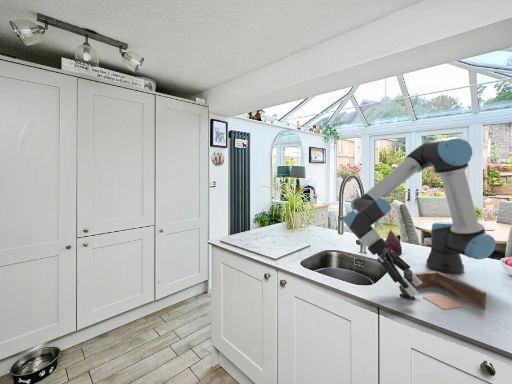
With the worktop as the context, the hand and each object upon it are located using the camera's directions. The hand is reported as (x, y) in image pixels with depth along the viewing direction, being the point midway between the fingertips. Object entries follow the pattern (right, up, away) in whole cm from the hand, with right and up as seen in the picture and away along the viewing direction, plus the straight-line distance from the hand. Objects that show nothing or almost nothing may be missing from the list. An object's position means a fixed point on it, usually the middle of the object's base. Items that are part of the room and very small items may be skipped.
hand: (416, 289), depth 96 cm
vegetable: (+20, +1, +55) cm, 58 cm away
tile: (+9, -4, -2) cm, 10 cm away
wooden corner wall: (+12, -4, +2) cm, 13 cm away
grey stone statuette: (-2, -4, +2) cm, 5 cm away
